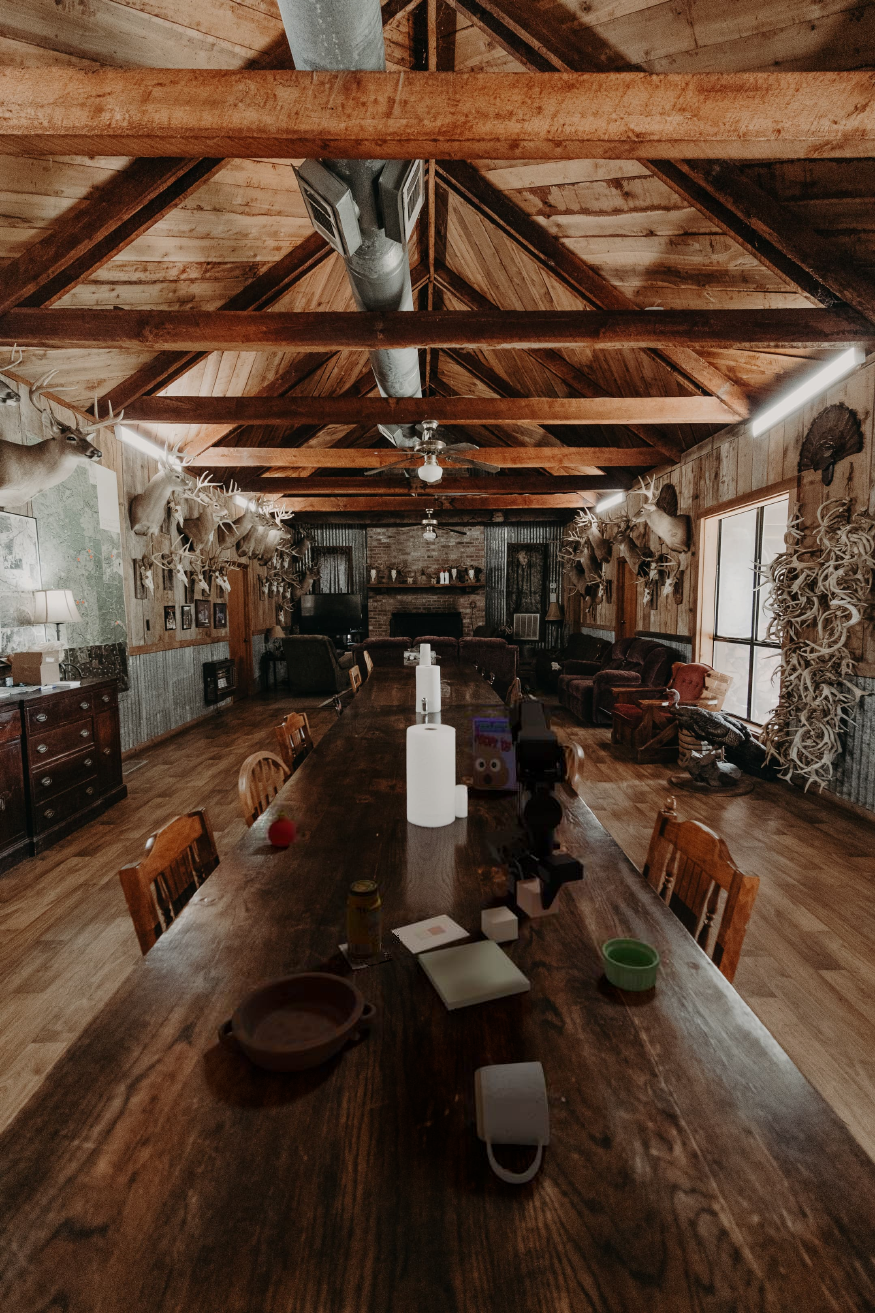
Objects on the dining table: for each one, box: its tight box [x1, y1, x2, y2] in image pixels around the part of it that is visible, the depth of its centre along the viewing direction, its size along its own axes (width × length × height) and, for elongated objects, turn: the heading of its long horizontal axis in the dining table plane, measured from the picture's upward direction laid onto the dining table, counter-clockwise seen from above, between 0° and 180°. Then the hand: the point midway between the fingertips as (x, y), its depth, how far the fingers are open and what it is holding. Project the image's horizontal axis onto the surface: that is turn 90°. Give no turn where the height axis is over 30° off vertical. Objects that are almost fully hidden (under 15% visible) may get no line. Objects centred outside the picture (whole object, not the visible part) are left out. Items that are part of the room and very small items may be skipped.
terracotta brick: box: [516, 878, 560, 919], centre depth 102 cm, size 5×5×4 cm
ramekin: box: [602, 937, 660, 992], centre depth 101 cm, size 9×9×4 cm
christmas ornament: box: [267, 807, 297, 848], centre depth 159 cm, size 7×7×10 cm
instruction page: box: [391, 914, 471, 955], centre depth 115 cm, size 12×9×1 cm
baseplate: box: [418, 939, 531, 1011], centre depth 102 cm, size 14×14×1 cm
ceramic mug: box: [474, 1061, 550, 1185], centre depth 69 cm, size 11×8×8 cm
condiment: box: [338, 879, 387, 970], centre depth 108 cm, size 7×8×12 cm
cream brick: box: [481, 905, 519, 944], centre depth 114 cm, size 5×5×4 cm
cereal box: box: [472, 717, 518, 789], centre depth 208 cm, size 17×5×24 cm, turn 81°
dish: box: [217, 971, 377, 1073], centre depth 87 cm, size 18×22×5 cm
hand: (537, 902), depth 102 cm, fingers closed on terracotta brick, 5 cm apart
